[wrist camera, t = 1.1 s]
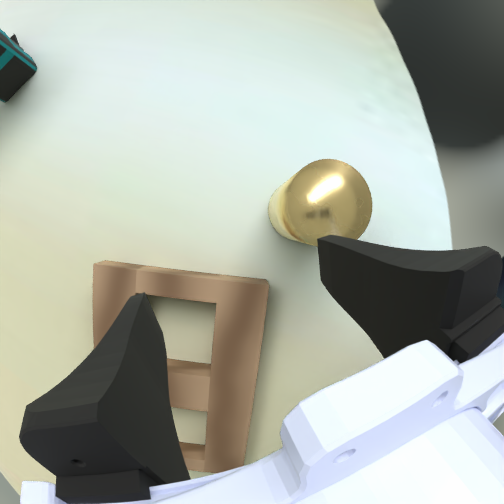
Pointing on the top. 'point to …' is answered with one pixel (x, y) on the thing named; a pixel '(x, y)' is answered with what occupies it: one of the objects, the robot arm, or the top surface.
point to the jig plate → (223, 352)
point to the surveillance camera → (13, 66)
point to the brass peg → (321, 203)
